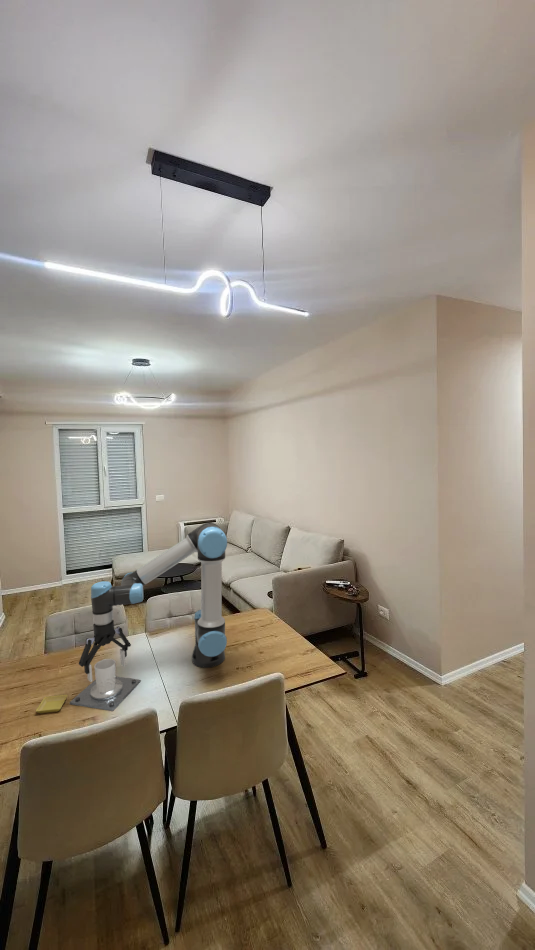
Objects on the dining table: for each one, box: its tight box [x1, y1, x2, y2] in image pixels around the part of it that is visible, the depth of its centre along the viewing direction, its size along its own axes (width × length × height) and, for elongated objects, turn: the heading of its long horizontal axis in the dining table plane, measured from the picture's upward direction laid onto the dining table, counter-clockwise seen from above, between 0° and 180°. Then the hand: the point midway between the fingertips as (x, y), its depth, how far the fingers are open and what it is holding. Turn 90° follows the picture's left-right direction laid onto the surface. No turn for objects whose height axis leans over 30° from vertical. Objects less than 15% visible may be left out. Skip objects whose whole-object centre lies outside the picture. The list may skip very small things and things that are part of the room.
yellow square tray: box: [35, 694, 68, 714], centre depth 150 cm, size 9×9×2 cm
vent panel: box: [69, 676, 142, 712], centre depth 158 cm, size 19×19×2 cm
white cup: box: [93, 658, 117, 693], centre depth 157 cm, size 8×8×10 cm
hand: (107, 672), depth 158 cm, fingers open, 13 cm apart
